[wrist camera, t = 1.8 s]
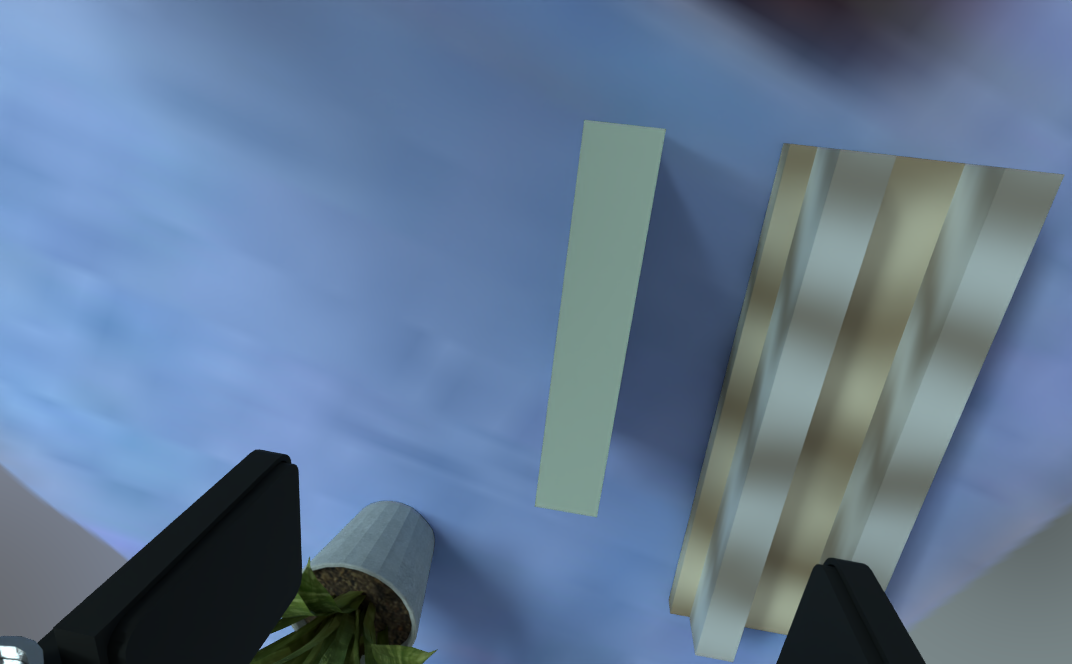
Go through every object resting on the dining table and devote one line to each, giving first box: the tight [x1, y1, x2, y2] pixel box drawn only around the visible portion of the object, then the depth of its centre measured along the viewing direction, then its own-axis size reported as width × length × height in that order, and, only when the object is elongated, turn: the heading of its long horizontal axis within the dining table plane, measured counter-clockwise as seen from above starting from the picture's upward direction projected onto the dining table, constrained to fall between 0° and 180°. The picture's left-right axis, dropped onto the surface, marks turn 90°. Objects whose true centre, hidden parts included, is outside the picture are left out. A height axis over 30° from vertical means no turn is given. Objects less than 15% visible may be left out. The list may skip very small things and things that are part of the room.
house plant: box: [250, 501, 437, 664], centre depth 27 cm, size 14×14×16 cm
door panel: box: [535, 120, 666, 517], centre depth 23 cm, size 14×2×9 cm, turn 174°
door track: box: [669, 143, 1064, 662], centre depth 27 cm, size 26×10×4 cm, turn 174°
